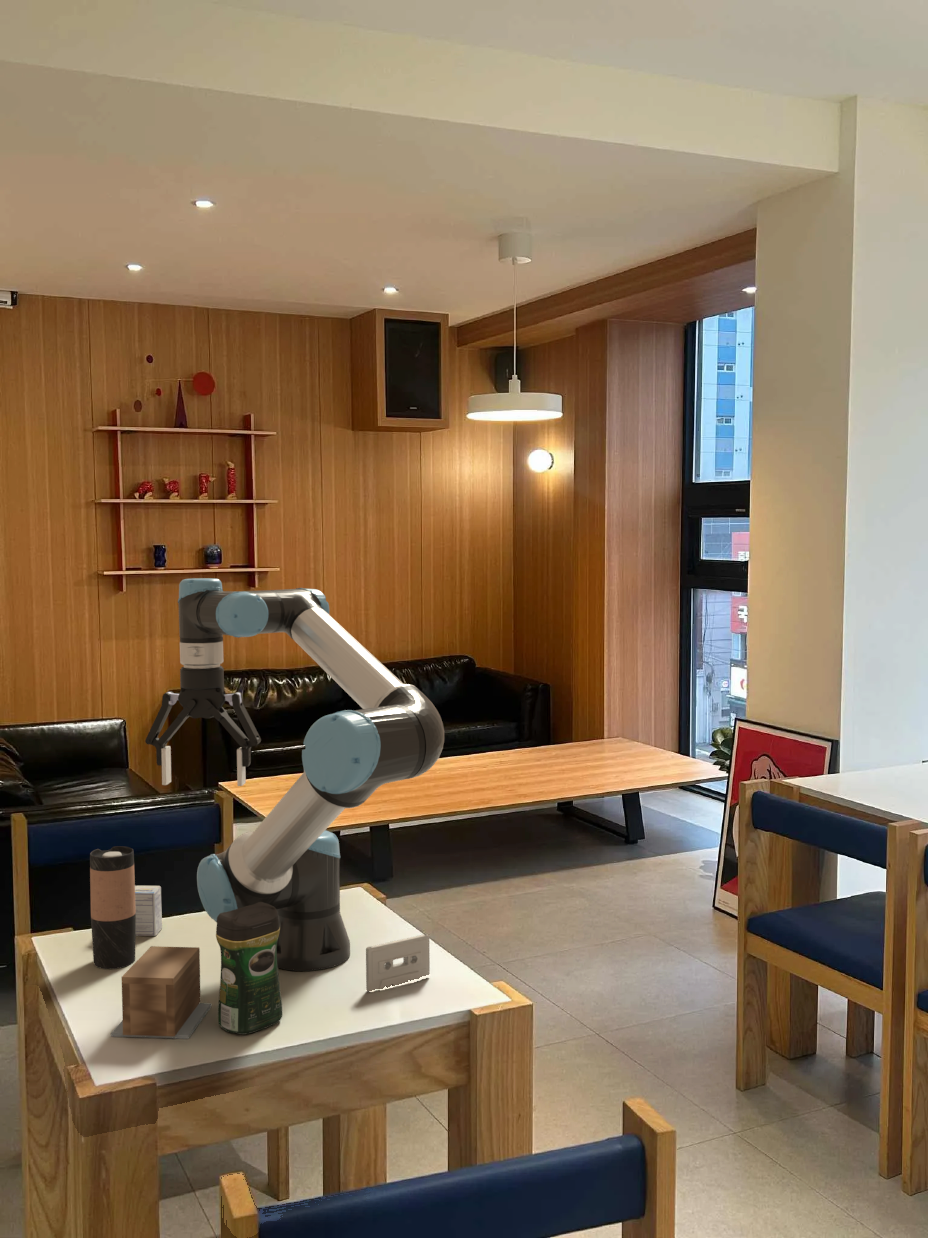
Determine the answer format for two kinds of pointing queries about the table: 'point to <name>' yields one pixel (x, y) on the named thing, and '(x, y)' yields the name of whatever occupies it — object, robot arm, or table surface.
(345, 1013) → the table surface
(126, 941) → the travel mug
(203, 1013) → the slate mat
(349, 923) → the table surface
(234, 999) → the coffee jar
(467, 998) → the table surface
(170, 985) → the tan rectangular box
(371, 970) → the cassette
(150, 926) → the medicine box
